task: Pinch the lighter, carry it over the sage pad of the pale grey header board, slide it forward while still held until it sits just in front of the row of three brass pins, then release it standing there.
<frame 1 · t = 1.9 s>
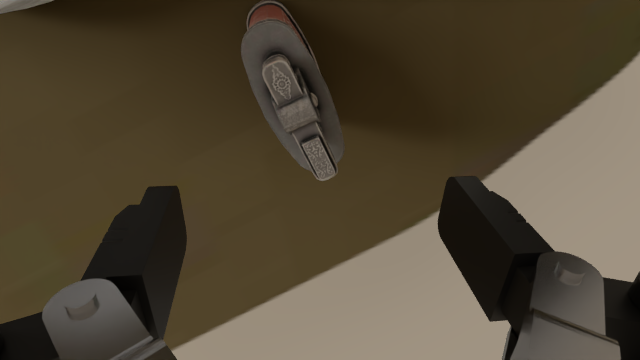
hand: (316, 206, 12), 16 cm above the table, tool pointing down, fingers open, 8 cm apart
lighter: (288, 62, 26), on the table
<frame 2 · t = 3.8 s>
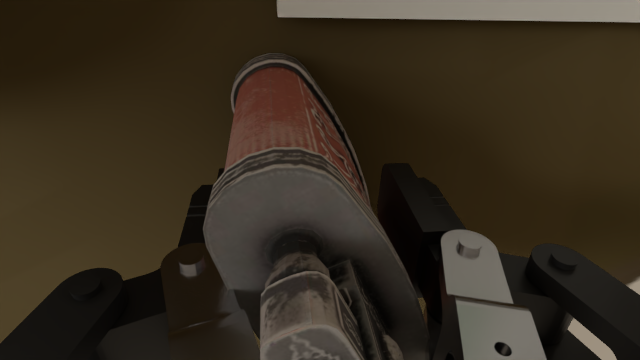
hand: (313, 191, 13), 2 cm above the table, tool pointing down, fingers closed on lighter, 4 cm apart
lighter: (306, 155, 15), on the table, touching gripper
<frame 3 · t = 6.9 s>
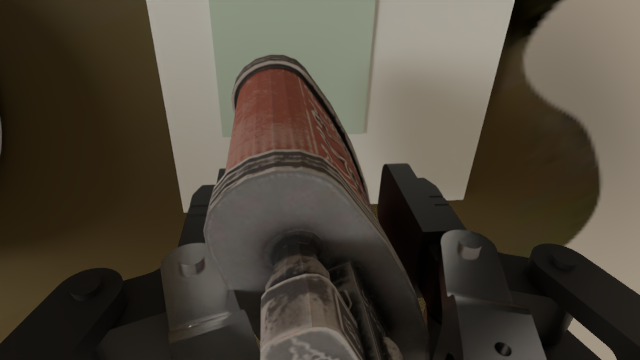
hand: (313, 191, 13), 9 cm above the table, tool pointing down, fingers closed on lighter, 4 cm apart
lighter: (307, 156, 15), point 6 cm above the table, touching gripper
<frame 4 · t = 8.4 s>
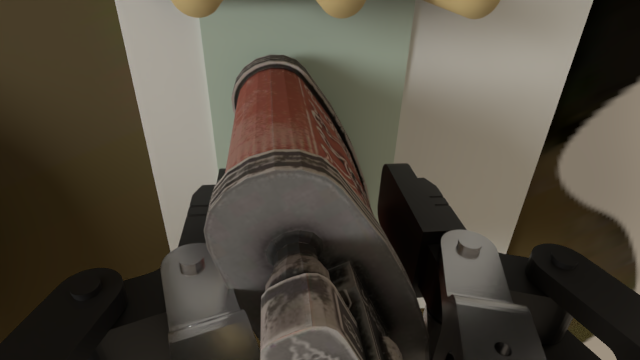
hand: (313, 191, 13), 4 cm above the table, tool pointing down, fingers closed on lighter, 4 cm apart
header board: (355, 107, 16), on the table
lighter: (307, 156, 15), point 2 cm above the table, touching gripper
when the fingers open (4 cm above the table, at t = 9.6 s): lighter stays where it is, resting on header board.
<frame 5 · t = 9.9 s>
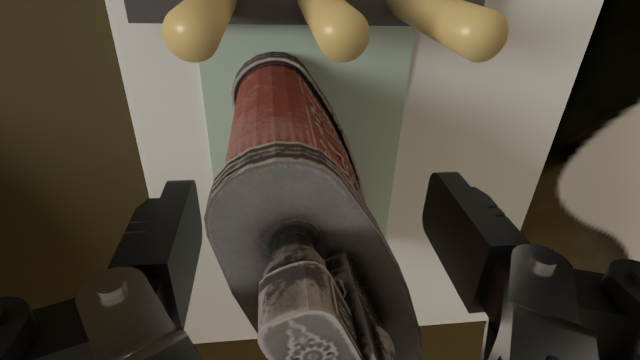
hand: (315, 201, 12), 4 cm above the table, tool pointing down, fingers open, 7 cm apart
header board: (354, 128, 16), on the table
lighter: (304, 153, 15), point 1 cm above the table, touching header board
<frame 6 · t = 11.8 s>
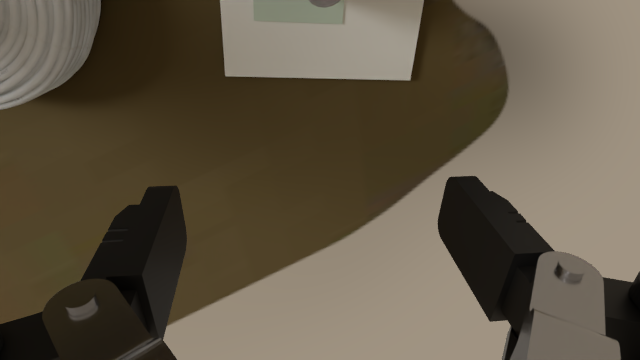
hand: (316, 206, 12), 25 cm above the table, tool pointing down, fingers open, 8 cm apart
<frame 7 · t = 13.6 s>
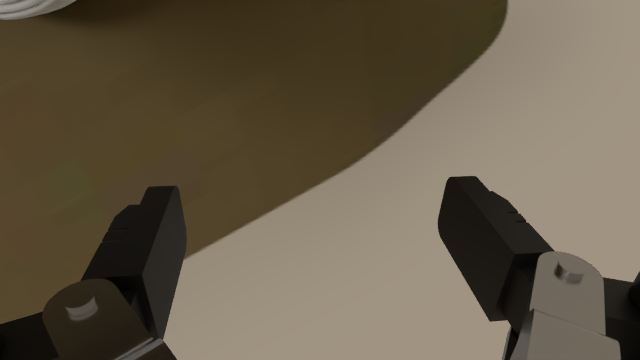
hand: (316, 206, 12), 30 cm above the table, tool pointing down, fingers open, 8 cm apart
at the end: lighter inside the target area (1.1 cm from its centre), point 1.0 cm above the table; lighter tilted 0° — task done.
